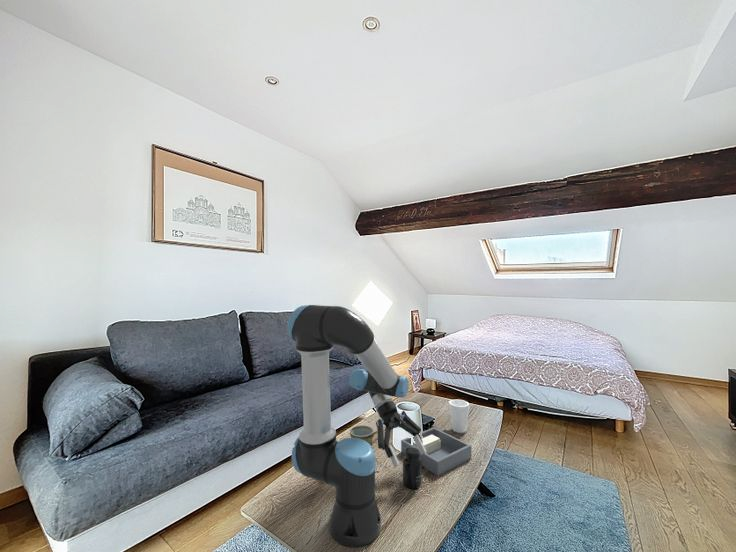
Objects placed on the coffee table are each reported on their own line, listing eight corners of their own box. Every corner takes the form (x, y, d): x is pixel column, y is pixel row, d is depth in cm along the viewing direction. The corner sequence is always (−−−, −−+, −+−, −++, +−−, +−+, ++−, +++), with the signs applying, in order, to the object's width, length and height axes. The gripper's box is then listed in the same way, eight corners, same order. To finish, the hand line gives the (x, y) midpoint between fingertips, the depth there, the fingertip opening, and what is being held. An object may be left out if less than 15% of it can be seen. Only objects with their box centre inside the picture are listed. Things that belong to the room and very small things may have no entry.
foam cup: (447, 425, 159) (447, 399, 159) (466, 425, 158) (465, 399, 159) (451, 434, 149) (451, 406, 150) (471, 434, 149) (471, 406, 149)
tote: (437, 478, 115) (437, 462, 115) (401, 454, 131) (401, 440, 132) (471, 460, 127) (471, 445, 127) (434, 440, 143) (433, 427, 143)
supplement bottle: (421, 492, 108) (421, 456, 108) (401, 489, 109) (401, 454, 109) (422, 480, 115) (422, 446, 115) (403, 477, 116) (403, 444, 116)
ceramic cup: (349, 461, 126) (349, 436, 127) (350, 448, 136) (350, 425, 137) (381, 460, 127) (381, 435, 127) (379, 448, 137) (379, 424, 137)
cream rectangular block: (420, 457, 128) (420, 447, 128) (412, 451, 132) (412, 442, 132) (440, 448, 135) (440, 438, 135) (432, 443, 139) (432, 434, 139)
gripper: (402, 402, 136) (429, 452, 124) (355, 417, 121) (379, 475, 109) (411, 393, 132) (439, 444, 120) (363, 407, 117) (389, 467, 105)
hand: (411, 459), depth 114 cm, fingers open, 13 cm apart
